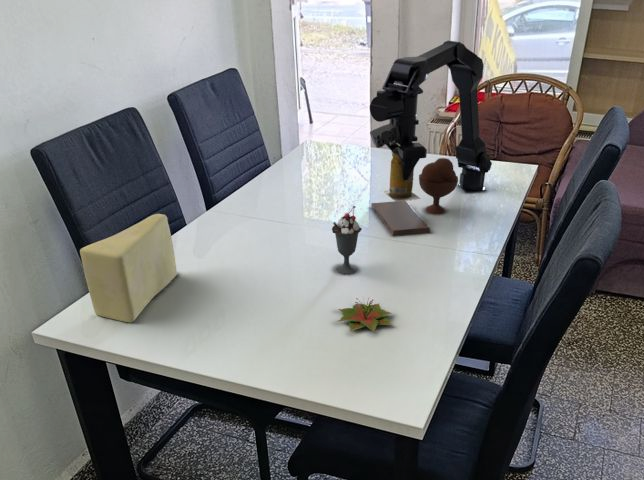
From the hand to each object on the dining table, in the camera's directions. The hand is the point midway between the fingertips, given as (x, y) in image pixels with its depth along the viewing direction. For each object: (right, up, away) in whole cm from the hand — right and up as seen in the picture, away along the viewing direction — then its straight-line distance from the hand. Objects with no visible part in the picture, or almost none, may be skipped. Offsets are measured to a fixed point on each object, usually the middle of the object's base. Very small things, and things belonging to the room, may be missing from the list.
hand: (401, 175), depth 170 cm
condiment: (0, -5, +2) cm, 5 cm away
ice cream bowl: (+11, -7, +13) cm, 18 cm away
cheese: (-57, -34, -32) cm, 74 cm away
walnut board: (0, -10, +6) cm, 12 cm away
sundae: (-14, -27, -19) cm, 36 cm away
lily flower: (-10, -40, -38) cm, 56 cm away
